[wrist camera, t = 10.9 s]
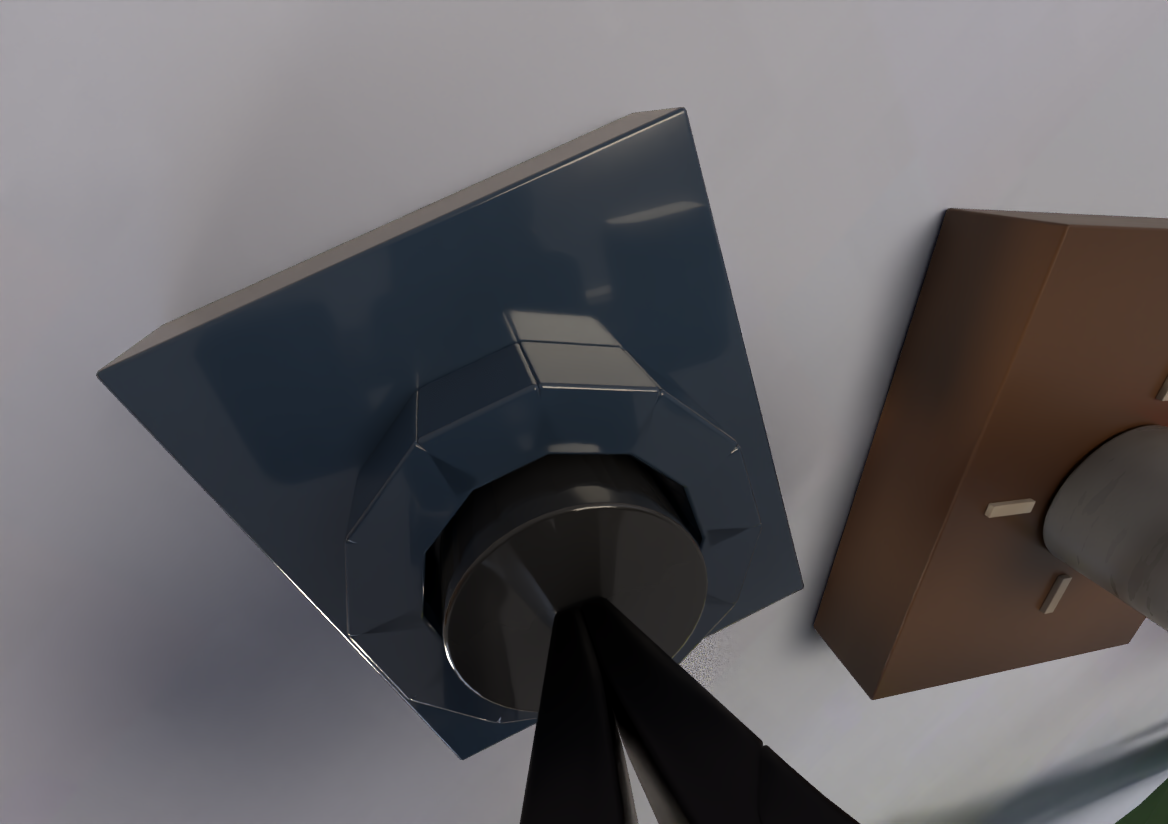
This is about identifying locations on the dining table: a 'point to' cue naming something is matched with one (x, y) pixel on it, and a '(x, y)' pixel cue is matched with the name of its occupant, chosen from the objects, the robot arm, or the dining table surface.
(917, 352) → the dial panel
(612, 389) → the push button panel
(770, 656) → the dining table surface
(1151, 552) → the dial
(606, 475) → the plunger
